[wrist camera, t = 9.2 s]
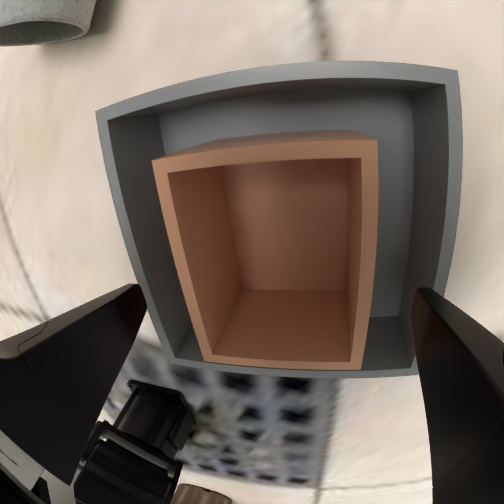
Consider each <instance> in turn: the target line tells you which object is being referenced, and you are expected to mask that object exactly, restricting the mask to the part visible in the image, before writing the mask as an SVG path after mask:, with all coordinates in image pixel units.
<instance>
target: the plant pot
mask: <svg viewBox="0 0 504 504" xmlns="http://www.w3.org/2000/svg"><path fill="white" fill-rule="evenodd" d="M231 503H232V501H231V500H230V499H229V498H227V497H226V496H224V495H221V494H218V493H216V492H213V491H210V492H207V491H205V490H204V489H203V488H201V487H197V486H193V485H189V484H180V485H179V487H178V489H177V490H176V492H175V494H174V496H173V498H172V500H171V502H170V504H231Z"/></svg>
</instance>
